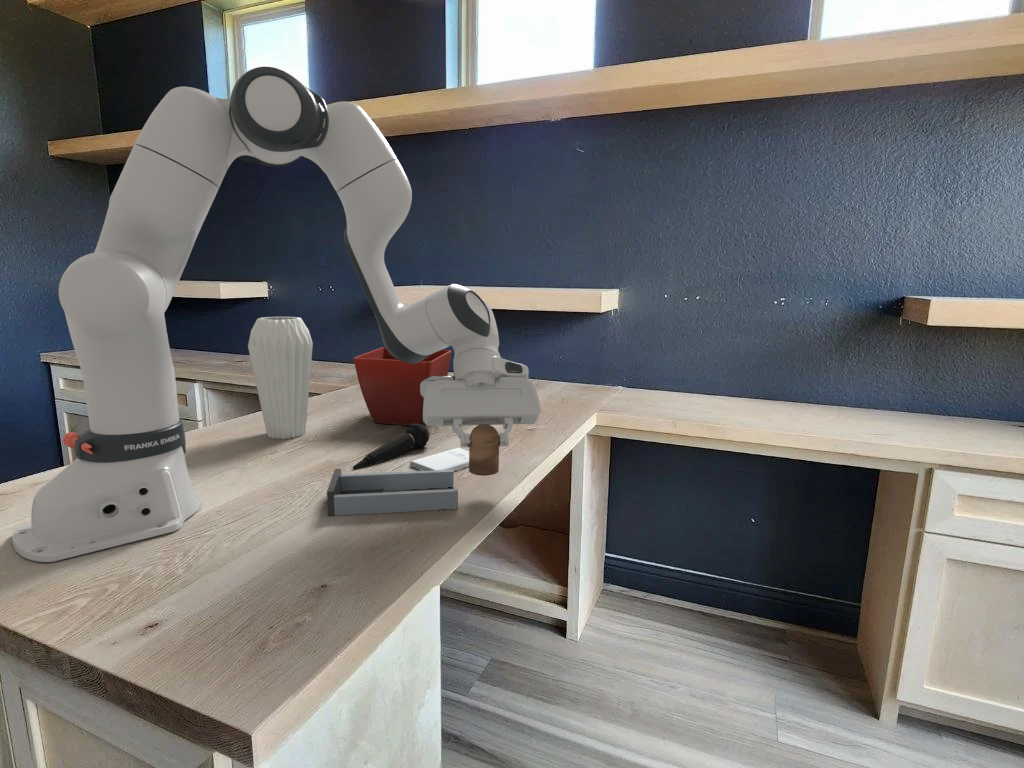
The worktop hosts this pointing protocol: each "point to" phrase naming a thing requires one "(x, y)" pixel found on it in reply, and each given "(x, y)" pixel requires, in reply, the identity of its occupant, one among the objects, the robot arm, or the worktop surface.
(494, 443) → the peg
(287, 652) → the worktop surface
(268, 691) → the worktop surface
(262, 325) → the vase
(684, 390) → the worktop surface
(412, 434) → the microphone
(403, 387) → the plant pot
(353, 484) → the channel
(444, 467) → the external hard drive
